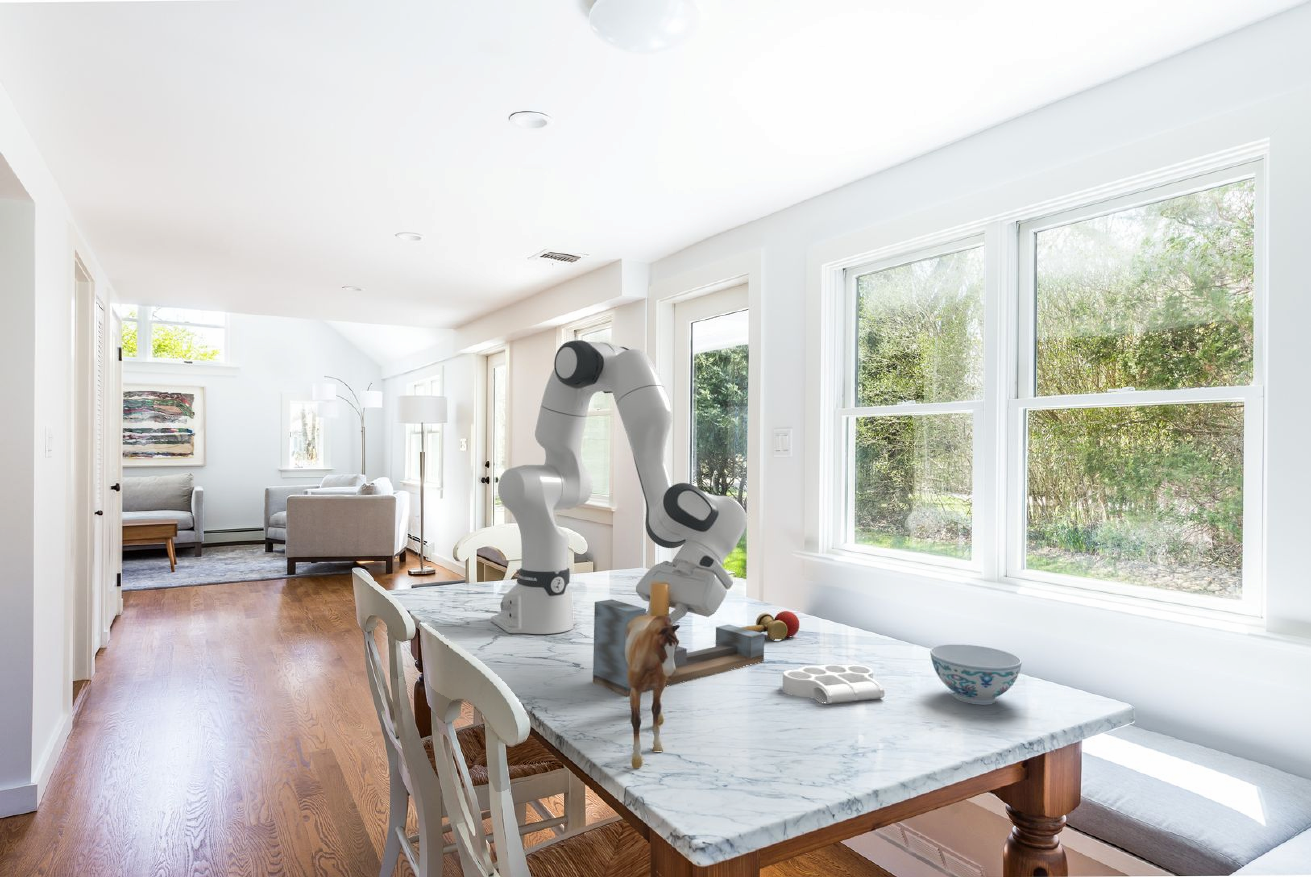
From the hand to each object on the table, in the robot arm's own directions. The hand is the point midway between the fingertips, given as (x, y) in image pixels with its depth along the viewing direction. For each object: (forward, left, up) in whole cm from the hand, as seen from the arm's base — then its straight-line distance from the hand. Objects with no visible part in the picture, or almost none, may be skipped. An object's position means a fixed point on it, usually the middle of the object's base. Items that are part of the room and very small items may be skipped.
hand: (656, 623), depth 141 cm
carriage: (0, +1, -7) cm, 7 cm away
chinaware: (+43, +38, -11) cm, 58 cm away
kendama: (-8, +40, -11) cm, 42 cm away
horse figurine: (+23, -17, -11) cm, 31 cm away
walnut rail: (0, +7, -10) cm, 13 cm away
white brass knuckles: (+25, +21, -11) cm, 35 cm away
